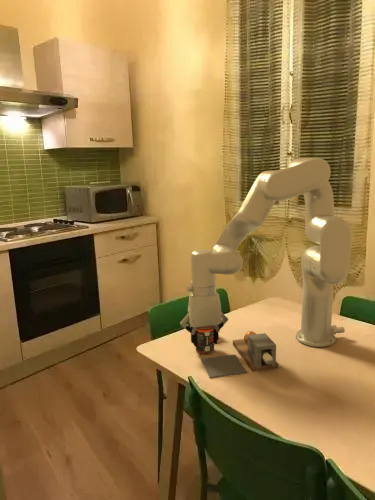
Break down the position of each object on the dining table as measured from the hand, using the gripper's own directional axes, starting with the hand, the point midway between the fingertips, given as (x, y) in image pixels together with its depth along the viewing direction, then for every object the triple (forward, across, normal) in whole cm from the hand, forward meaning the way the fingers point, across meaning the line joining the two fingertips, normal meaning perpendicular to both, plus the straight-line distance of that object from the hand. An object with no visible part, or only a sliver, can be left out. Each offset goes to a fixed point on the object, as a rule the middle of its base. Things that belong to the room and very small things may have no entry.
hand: (204, 342), depth 126 cm
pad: (+3, +3, -11) cm, 12 cm away
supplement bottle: (+3, 0, 0) cm, 3 cm away
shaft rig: (+3, +14, -7) cm, 16 cm away
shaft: (0, +14, -11) cm, 18 cm away
